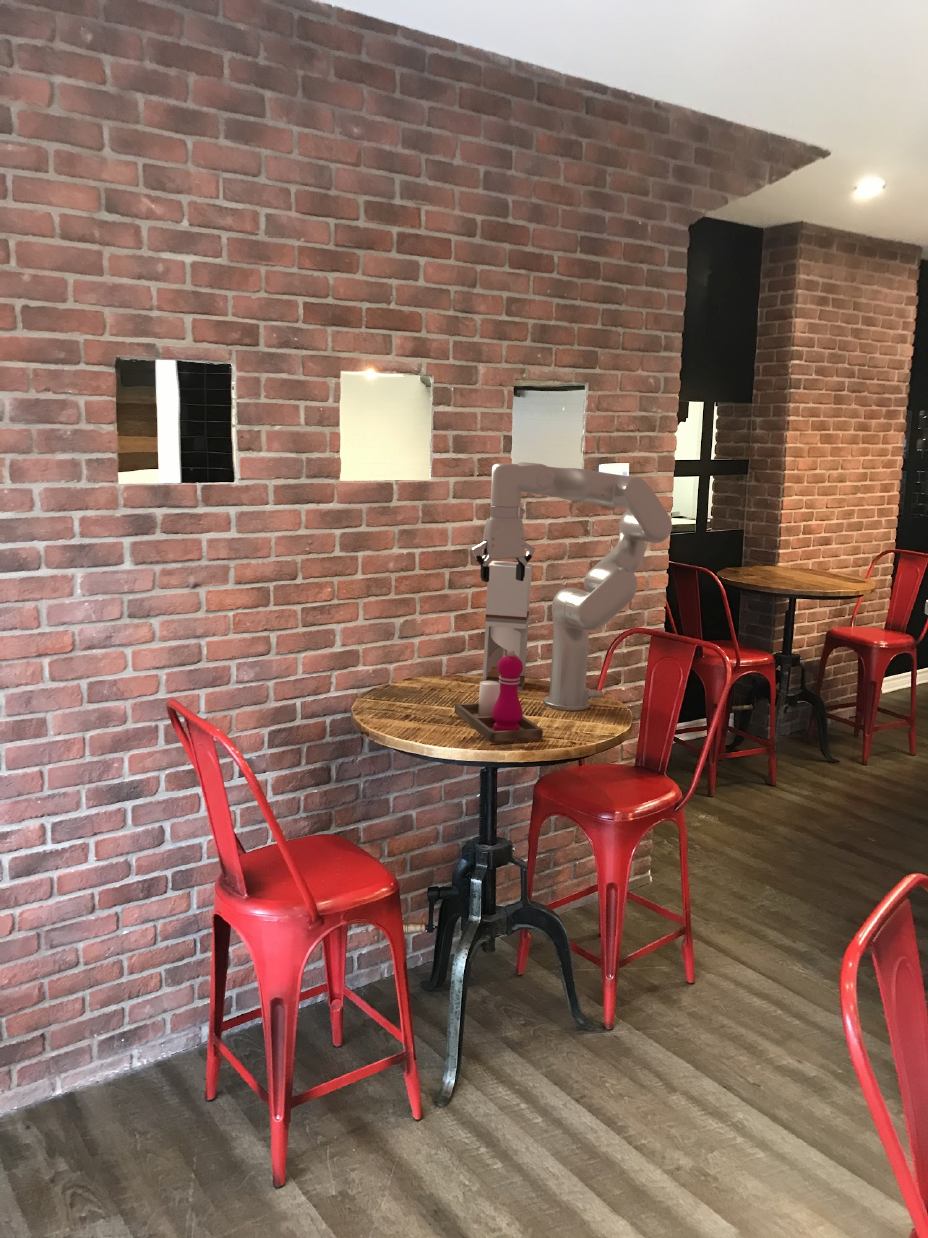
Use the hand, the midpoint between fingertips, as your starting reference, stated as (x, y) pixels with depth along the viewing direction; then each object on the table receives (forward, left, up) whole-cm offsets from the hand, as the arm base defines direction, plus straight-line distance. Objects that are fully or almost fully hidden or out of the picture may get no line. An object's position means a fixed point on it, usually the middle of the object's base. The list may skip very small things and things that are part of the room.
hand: (502, 580), depth 249 cm
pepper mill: (+5, +21, -33) cm, 40 cm away
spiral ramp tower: (-13, -25, -34) cm, 44 cm away
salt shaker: (+6, +9, -33) cm, 35 cm away
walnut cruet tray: (+6, +15, -34) cm, 38 cm away
